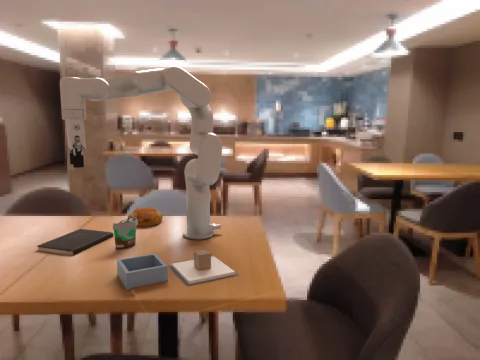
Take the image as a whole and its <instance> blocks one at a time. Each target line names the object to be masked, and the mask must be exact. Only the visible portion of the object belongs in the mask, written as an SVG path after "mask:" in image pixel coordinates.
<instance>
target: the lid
mask: <svg viewBox="0 0 480 360" xmlns="http://www.w3.org/2000/svg"><path fill="white" fill-rule="evenodd" d="M171 266H172V268H173V269H174V270H175V271H176V272H177V273H178V274H179V275H180V276H181V277H182V278H183V279H184V280H185V281H186V282H187V283H188V284H193V283H198V282H203V281H207V280H212V279H217V278H222V277H226V276H231V275H235V270H233V269H232V268H231V267H230V266H228V265H227V264H226V263H223V262H222V261H221V260H220V259H219V258H217V257H216V256H212V253H211V252H209V251H208V250H207V249H200V250H195V251H193V259H191V260H186V261H181V262H180V261H179V262H175V263H171Z"/></svg>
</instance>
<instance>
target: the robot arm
mask: <svg viewBox="0 0 480 360" xmlns="http://www.w3.org/2000/svg"><path fill="white" fill-rule="evenodd" d="M59 90H60V91H59V92H60V106H61V120H65V124H66V125H65V126H66V127H65V129H66V139H67V146H68V148H69V163H70V165H72V166H73V168H74V169H77V168H84V167H85V163H84V162H85V160H84V152H83V150H86V148H87V140H86V139H87V138H86V129H85V122H84V120H85V121H86V120H87V107H86V100H89V101H91V102H99V101H105V100H111V99H117V98H130V97H132V98H133V97H139V96H146V95H152V94H159V93H166V92H171V91H172V92H173V91H174V92H175V93H177V94H178V95H179V98H180V101H181V103H182V105H183V106H184V107H185V108H187V110H188V111H189V114H190V117H191V129H190V135H189V136H190V139H189V148H190V151H191V152H192V153H193V154H195V155H196V156H197V158H193V159H190V160H189V161H187V163H186V164H185V167H184V172H183V173H184V181H185V190H186V230H184V231H182V235H183V237H184V238H185V239H188V240H206V239H211V238H213V236H214V234H215V232H214V231H215V230H221V228H222V226H221V224H220V223H218V224H216V223H211V190H210V189H211V188H210V186H213V185H214V184H216V182H217V181H218V180H219V178H220V177H219V176H220V173H221V166H222V165H221V164H222V153H223V144H222V140H221V138H220V137H219V136H218V135H217V134H216V133H214V130H213V129H214V115H213V114H214V113H213V110H212V108H211V106H210V103H211V101H212V93H211V90H210V89H209V87H208V85H206V84H204V83H203V82H201V80H199V79H198V78H197V77H195V76H193V75H192V74H191V73H190V72H188V71H187V70H185V69H184V68H183V67H180V66H178V65H169V66H167V67H163V68H162V67H160V68H154V69H153V68H152V69H147V70H146V69H145V70H136V71H132V72H128V73H125V74H122V75H118V76H111V77H106V78H101V77H86V78H81V77H76V76H64V77H61V78H60V80H59Z"/></svg>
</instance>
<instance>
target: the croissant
mask: <svg viewBox="0 0 480 360" xmlns="http://www.w3.org/2000/svg"><path fill="white" fill-rule="evenodd" d="M128 216H133V217H136V219H137V221H138V225H137V226H136V227H140V226H144V227H149V226H148V225H153V226H156V225H155V224H158V225H160V224H161V222H162V220H163V217H164V216H163V213H162V212H160V211H159V210H158V209H156V208H154V207H141V208H140V207H138V208H135V209H134V210H133V211H132V212H131V213H129V214H128Z"/></svg>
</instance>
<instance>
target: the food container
mask: <svg viewBox="0 0 480 360" xmlns="http://www.w3.org/2000/svg"><path fill="white" fill-rule="evenodd" d="M137 225H138V221H137V219H136V217H133V216H129V215H127V218H126V219H123V220H120V221H119V222H118V223H115V222H114V223H112V230H113V238H114V245H115V250H127V249H131V248H134V247H135V246H136V241H137V240H136V238H137V227H138V226H137Z"/></svg>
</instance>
